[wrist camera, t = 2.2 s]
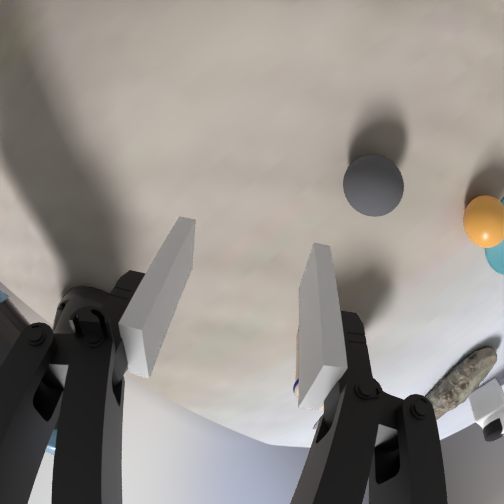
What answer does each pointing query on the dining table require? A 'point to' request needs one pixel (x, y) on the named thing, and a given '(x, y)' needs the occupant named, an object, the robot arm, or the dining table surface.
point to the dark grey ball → (373, 185)
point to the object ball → (484, 221)
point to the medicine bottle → (489, 409)
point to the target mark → (496, 255)
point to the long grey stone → (461, 381)
